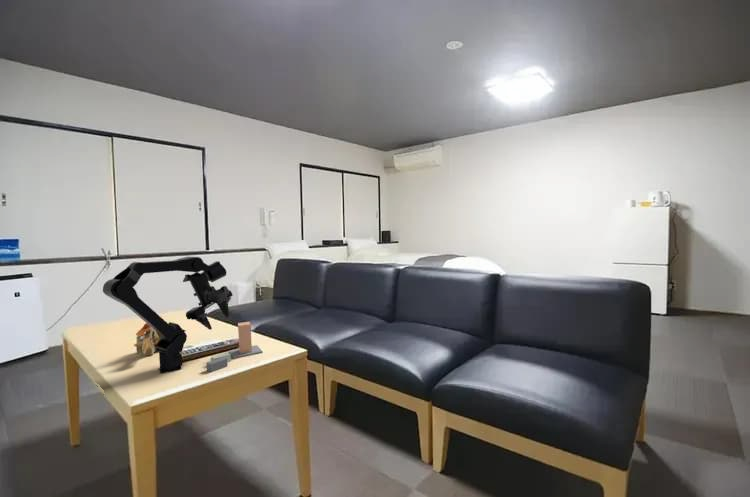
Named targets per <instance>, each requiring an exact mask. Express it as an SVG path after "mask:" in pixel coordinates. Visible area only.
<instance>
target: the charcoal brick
mask: <svg viewBox="0 0 750 497" xmlns="http://www.w3.org/2000/svg"><path fill="white" fill-rule="evenodd" d="M205 363H206V371H207V372H210V373H213V372H217V371H220V370H222V369H224V368H227V367H228V366H229V364H228V362H227V359H226V358H223V357H222V358H219V359H216V360H213V361H211V360H210V361H207V362H205Z"/></svg>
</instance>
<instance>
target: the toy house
mask: <svg viewBox="0 0 750 497" xmlns="http://www.w3.org/2000/svg"><path fill="white" fill-rule="evenodd" d="M143 335H144V339H143V340H142V341H140V342H138V343H137V344H136V350H135V351H136V354H137V356H143V355H145V354H146V355H147V356H148V357H149V356H153V355H154V354H155V353H154V352H156V349H155V346H156V344H157V343H158V342H159V341H160V338H159V337H158V335H157V332H156V331H155V330H154V329H153V328H152V327H151V326H149V325H148V324H147V323H146V322H145V324H143V327H141V328H140V329H139V330H138V331H137V332H136V333H135V336H136V337H141V336H143Z"/></svg>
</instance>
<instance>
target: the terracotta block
mask: <svg viewBox="0 0 750 497" xmlns="http://www.w3.org/2000/svg"><path fill="white" fill-rule="evenodd" d="M251 326H252V325H251V322H250V321H244V322H238V323H237V329H238V330H237V332H238V349H239V352H240V354H241V353H247V352H252V346H253V345H252V330H251V329H252V327H251Z"/></svg>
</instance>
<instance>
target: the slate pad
mask: <svg viewBox="0 0 750 497" xmlns="http://www.w3.org/2000/svg"><path fill="white" fill-rule="evenodd" d="M228 353H229V354H231V359H233V360H234V359H238V358H244V357H248V356H252V355H258V354H263V350H262V349H261V348H260V347H259V345H252V352H247V353H241V354H240V352H239V348H235V349H232V350H228Z"/></svg>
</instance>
